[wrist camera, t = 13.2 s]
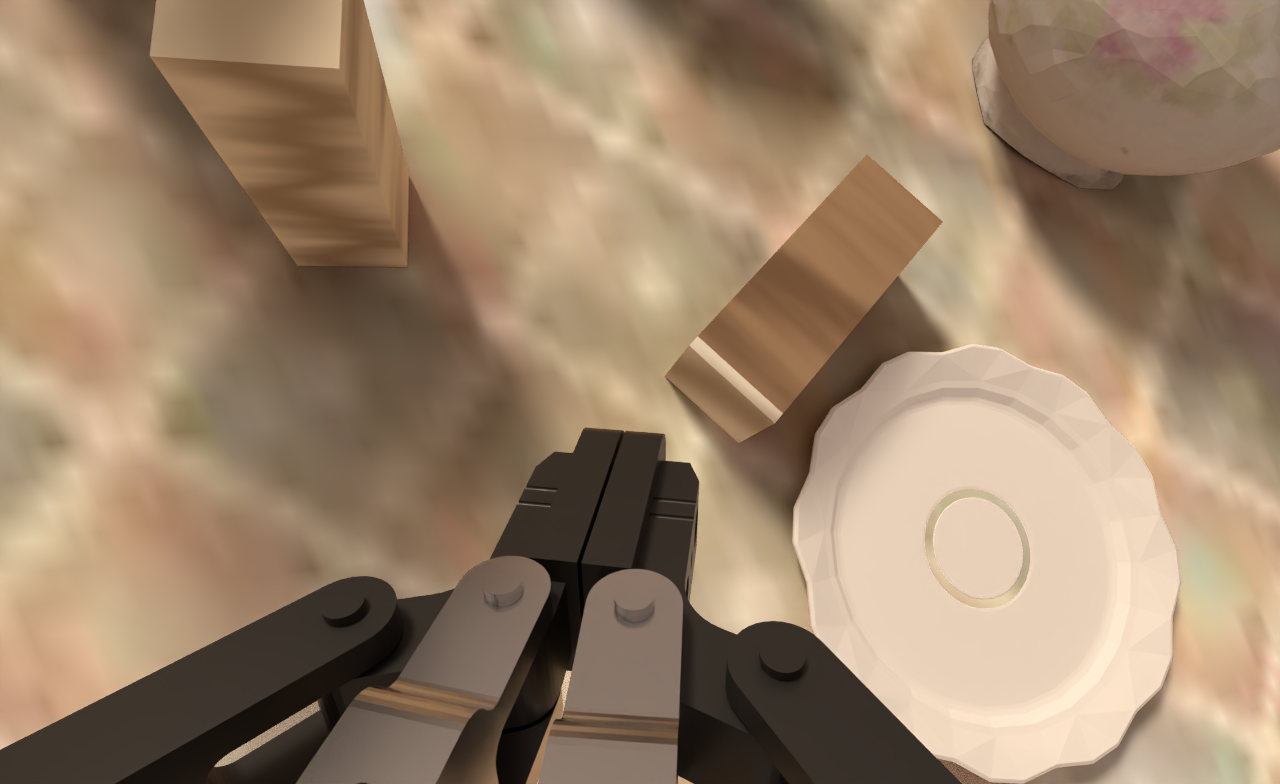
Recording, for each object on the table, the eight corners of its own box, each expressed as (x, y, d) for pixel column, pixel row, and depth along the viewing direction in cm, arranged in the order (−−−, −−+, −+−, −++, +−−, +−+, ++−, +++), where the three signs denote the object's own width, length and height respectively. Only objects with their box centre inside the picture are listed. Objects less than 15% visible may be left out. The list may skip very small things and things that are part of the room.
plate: (988, 873, 32) (1013, 889, 30) (700, 518, 33) (709, 515, 32) (1218, 573, 38) (1248, 573, 36) (964, 285, 39) (984, 274, 38)
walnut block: (774, 423, 30) (942, 221, 34) (689, 345, 30) (867, 154, 34) (738, 443, 34) (889, 264, 39) (664, 376, 35) (823, 205, 39)
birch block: (297, 265, 33) (149, 55, 19) (302, 171, 34) (167, -87, 20) (407, 267, 34) (339, 68, 20) (408, 175, 35) (345, -70, 21)
